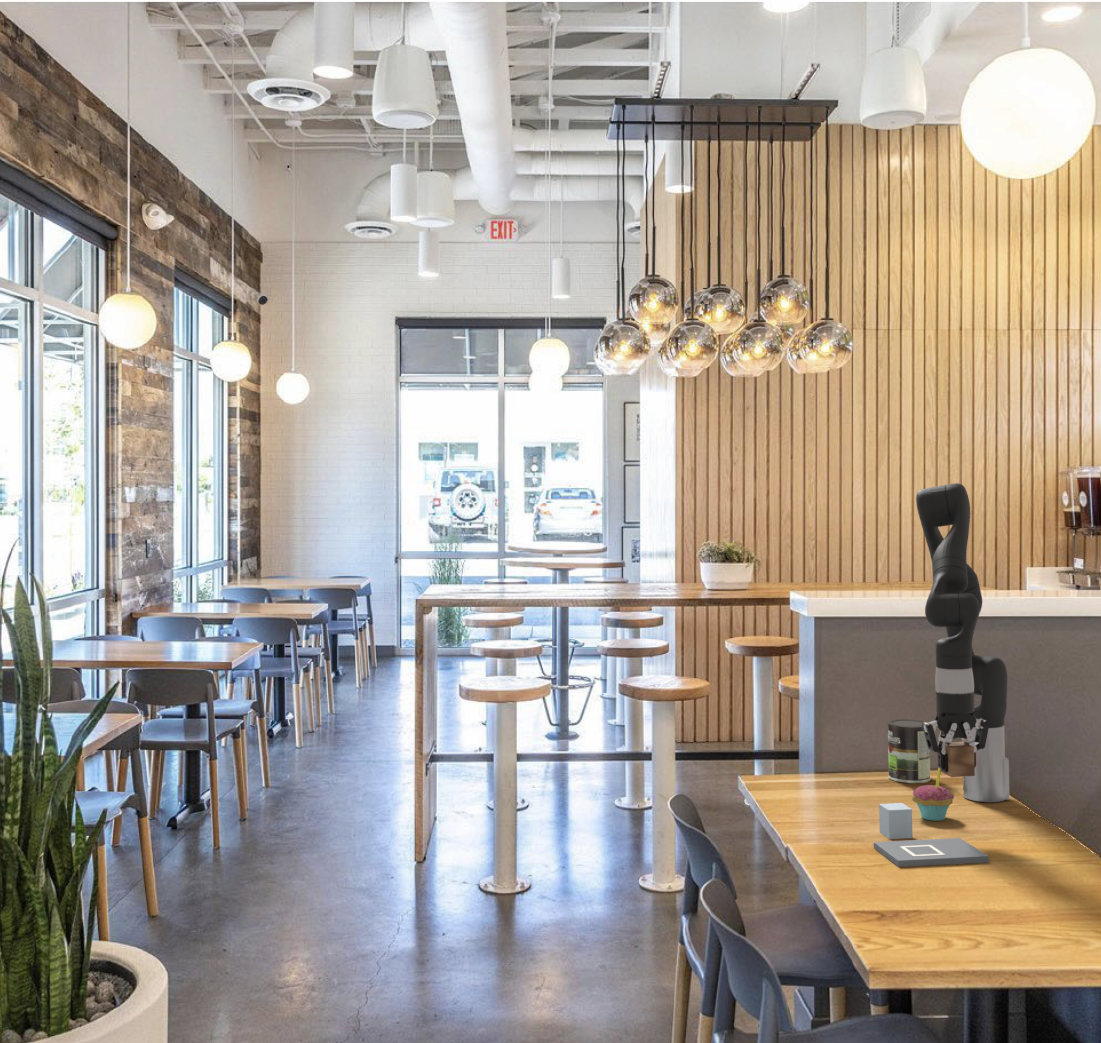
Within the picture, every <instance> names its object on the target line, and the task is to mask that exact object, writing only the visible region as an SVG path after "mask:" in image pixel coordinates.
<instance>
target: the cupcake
mask: <svg viewBox="0 0 1101 1043" xmlns="http://www.w3.org/2000/svg"><path fill="white" fill-rule="evenodd" d="M941 773H942V772H940V768H939V767H938V768H937V774H936V780H935V781H936V782H935V784H934V785H933V784H930V785H929V784H926V785H925V784H924V785H920V786H918V787H917V788H915V789H914V790H913V792H912V798H911V801H913V802H914V803H916V806H917V807H918V809H919V813H920V815H921V818H923V819H924V820H928V821H944V820H945V818H946V815H947V813H948V809H949V807H950V806H951V805H952V804H953V800H954V795H953V794H952V793H951V791H949V790H948V789H947V788H945V787H944V786H941V785H940V782H941V781H940V780H941Z"/></svg>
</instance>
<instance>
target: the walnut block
mask: <svg viewBox="0 0 1101 1043" xmlns="http://www.w3.org/2000/svg"><path fill="white" fill-rule="evenodd" d="M946 754H947V755H948V772H943V771H941V769H940V772H941V773H942V774H944V775H947V776H949V777H951V778H960V777H961V778H963V777H964V776H975V767H974V747H973V746H971V745H968V744H966V743H964V742H962V741H952V742H951V744H950V745H949V747H948V751H947V753H946Z"/></svg>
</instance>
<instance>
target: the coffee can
mask: <svg viewBox="0 0 1101 1043" xmlns="http://www.w3.org/2000/svg"><path fill="white" fill-rule="evenodd" d="M923 722H927V721H924V720H920V719H919V720H918V719H909V718H908V719H905V718H904V719H903V718H900V719H892V720H889V721H887V722H886V723H887V739H888V740H887V742H888V743H887V744H888V747H887V748H888V779H889V780H891V781H893V782H894V781H895V782H897V783H904V784H905V783H906V784H925V783H929V782H930V781H931V778H932V777H931V750H930V749H929V748H928V746H927V742H926V738H925V734H924V731H923V727H922V723H923ZM927 723H929V722H927Z"/></svg>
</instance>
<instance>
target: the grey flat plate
mask: <svg viewBox="0 0 1101 1043" xmlns="http://www.w3.org/2000/svg"><path fill="white" fill-rule="evenodd" d="M873 849H874V850H876V851H877V852H878V853H879V854H880V855H881V856H883V857H885V858H886V859H887V860H888V861H890V862H891V863H893V865H895V866H897V867H898V868H903V867H904V868H905V867H906V868H907V867H921V866H922V867H924V866H942V865H944V866H945V865H961V864H962V865H963V864H965V865H966V864H982V863H983V864H984V863H985V864H986V863H990V856H989V855H988V854H986V853H985V852H984V851H982V850H980V849H978V848H977V847H975V846H973V845H972V844H970V843H969V842H967V841H965V840H964V839H963V838H960V837H950V838H934V839H933V838H931V839H929V838H928V839H913V840H912V839H911V840H910V839H908V840H892V841H891V840H886V841H873Z"/></svg>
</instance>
